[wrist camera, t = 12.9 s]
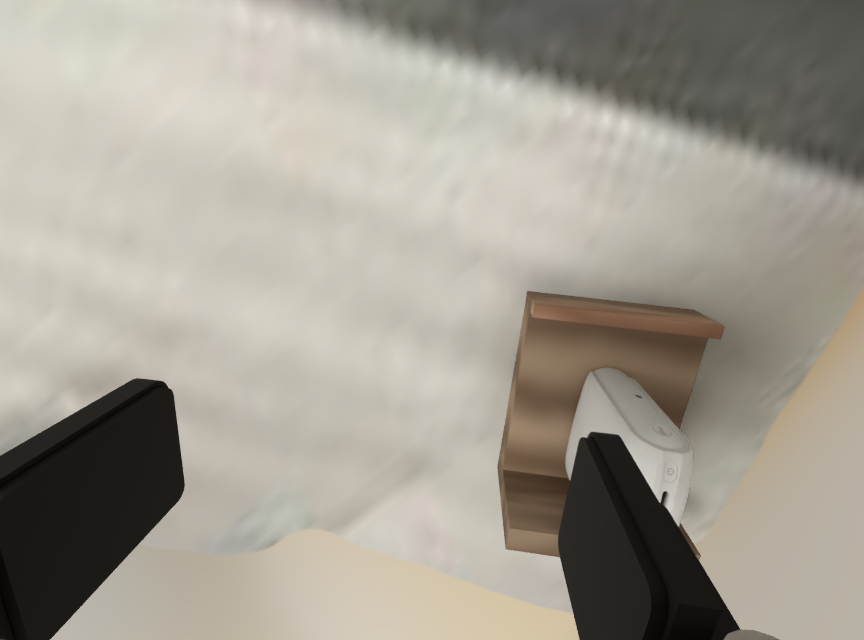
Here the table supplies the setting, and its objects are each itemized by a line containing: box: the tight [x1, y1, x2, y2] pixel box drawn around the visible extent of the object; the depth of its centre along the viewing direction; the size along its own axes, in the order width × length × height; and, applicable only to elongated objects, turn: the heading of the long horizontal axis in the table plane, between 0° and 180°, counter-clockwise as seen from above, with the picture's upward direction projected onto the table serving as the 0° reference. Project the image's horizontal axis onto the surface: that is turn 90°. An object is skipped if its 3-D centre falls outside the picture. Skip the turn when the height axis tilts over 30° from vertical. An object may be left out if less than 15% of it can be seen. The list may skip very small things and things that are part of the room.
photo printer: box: [565, 367, 693, 527], centre depth 30 cm, size 10×4×12 cm, turn 172°
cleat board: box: [498, 291, 724, 560], centre depth 34 cm, size 18×14×10 cm
